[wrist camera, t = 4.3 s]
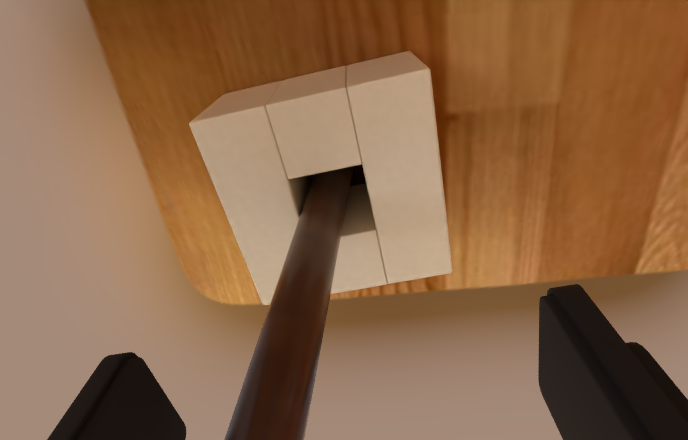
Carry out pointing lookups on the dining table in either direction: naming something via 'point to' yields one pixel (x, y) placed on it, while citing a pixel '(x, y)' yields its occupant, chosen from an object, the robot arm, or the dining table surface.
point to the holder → (331, 154)
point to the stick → (295, 321)
